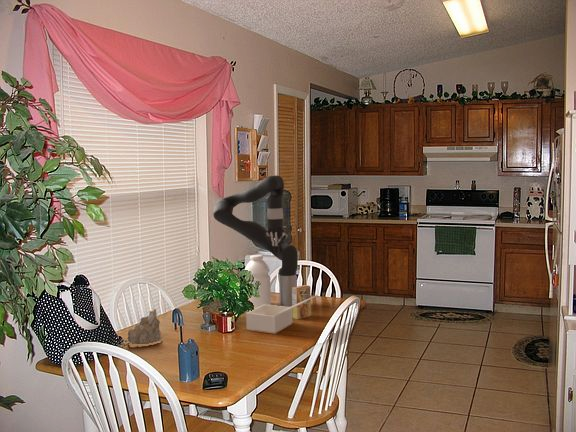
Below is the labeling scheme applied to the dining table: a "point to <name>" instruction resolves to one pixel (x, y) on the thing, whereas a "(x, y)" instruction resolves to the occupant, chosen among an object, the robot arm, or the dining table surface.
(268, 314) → the box
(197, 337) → the dining table surface
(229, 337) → the dining table surface
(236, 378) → the dining table surface
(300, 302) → the lid
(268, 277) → the bottle
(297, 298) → the candy box
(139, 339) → the grey rock
